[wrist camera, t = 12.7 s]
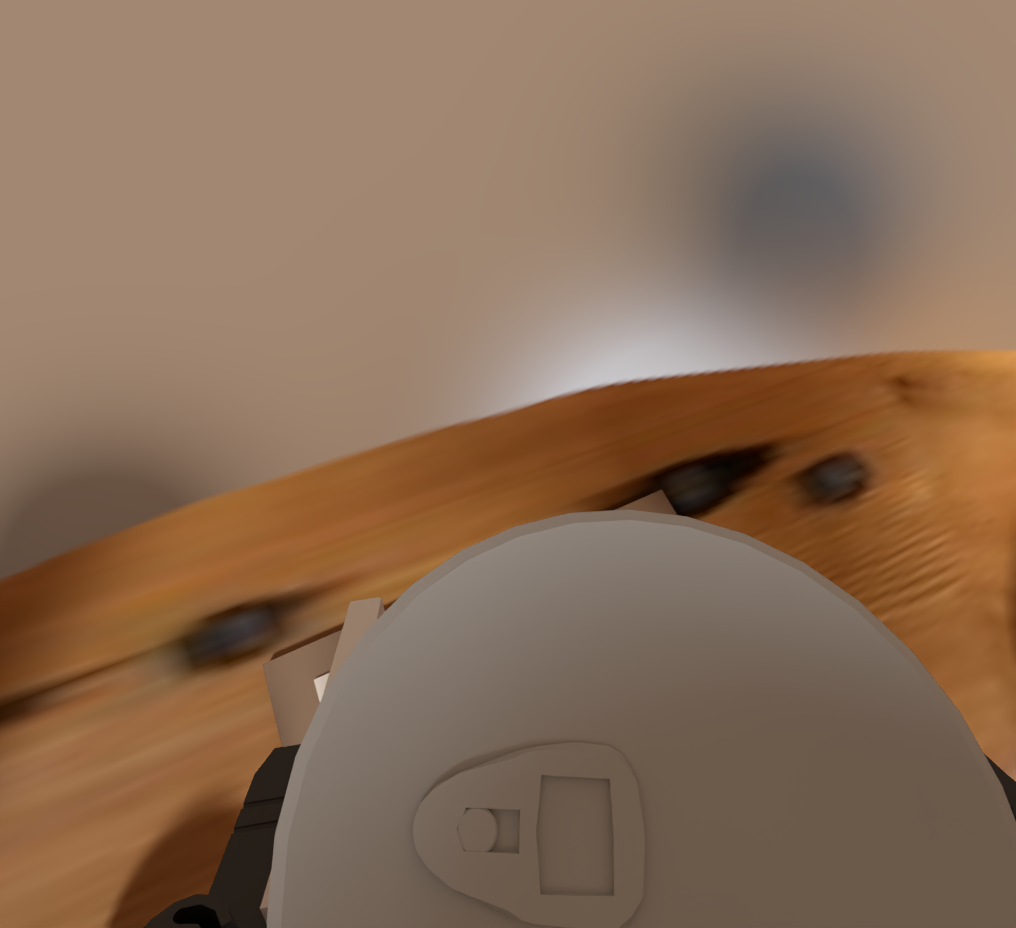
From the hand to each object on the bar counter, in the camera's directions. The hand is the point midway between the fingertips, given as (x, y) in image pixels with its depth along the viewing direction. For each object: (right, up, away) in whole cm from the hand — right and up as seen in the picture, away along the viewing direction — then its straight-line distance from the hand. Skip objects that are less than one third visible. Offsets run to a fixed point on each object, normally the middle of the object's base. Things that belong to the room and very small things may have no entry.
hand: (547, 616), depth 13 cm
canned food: (+1, -5, +2) cm, 5 cm away
